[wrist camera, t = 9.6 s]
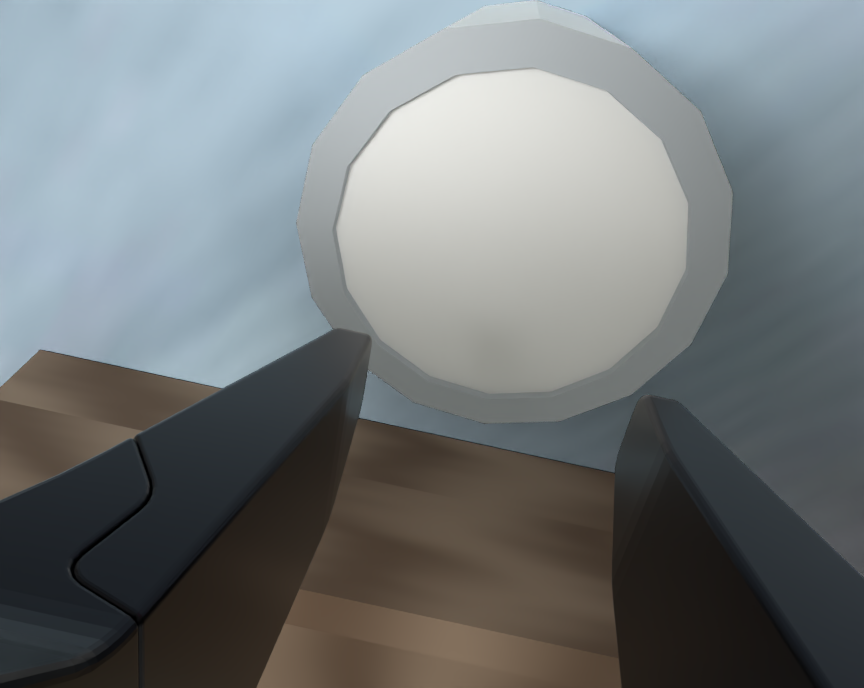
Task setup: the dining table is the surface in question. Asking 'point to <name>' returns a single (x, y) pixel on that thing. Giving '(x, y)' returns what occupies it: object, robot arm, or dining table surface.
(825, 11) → the dining table surface
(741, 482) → the robot arm
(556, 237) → the shot glass
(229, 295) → the dining table surface
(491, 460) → the tray
